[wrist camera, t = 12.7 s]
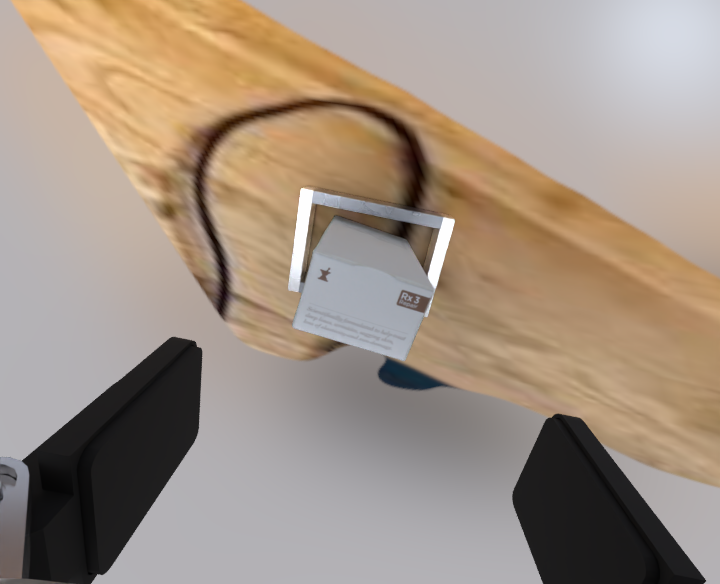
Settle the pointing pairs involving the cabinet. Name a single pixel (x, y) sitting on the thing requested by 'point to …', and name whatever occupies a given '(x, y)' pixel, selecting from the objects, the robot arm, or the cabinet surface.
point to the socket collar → (372, 207)
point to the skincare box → (364, 290)
